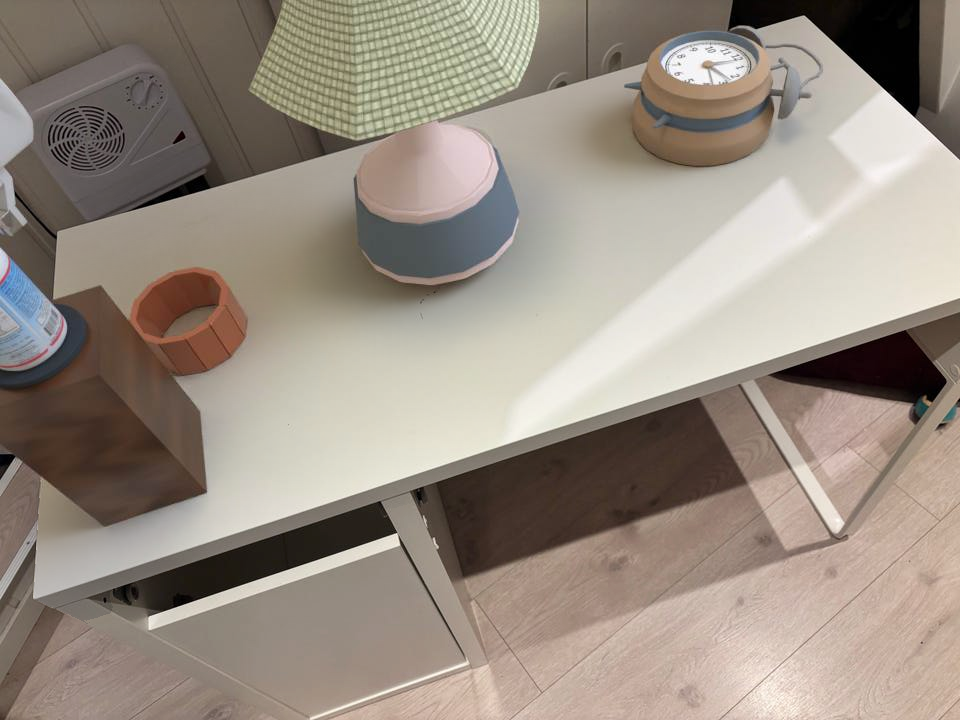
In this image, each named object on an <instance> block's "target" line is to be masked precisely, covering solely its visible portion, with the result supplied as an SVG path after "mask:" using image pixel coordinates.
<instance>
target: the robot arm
mask: <svg viewBox="0 0 960 720" xmlns="http://www.w3.org/2000/svg"><path fill="white" fill-rule="evenodd" d="M34 131H35V130H34V121H33V119H32V117H31V115H30V114H29V112H28V111H27V109H26V108H25V107H24V105H23V104H22V102H21V101H20V100H19V98H18V97H17V96H16V95H15V94H14V92H13V91H12V90H11V89H10V88H9V86H8V85H7V84H6V82H4V81H3V80H2V78H0V234H2V235H8V236H9V237H14V236H15V235H16V234H17V233H18V232H19V231H20V230H21V229H22V228H23V227H25V226H26V224H27V223H28V221H27V219H26V218H25V217H24V215H23V214H22V212H21V211H20V210H19V209H18V208H17V206H16V205H17V203H16V196H15V188H14V180H13V177H12V175H11V174H10V173H9V171H8V170H7V169H6V168H5V166H6V165H8V164H9V163H10V162H11V161H12V160H13V159H15V157H16V156H17V155H19V154H20V153H21V152H23V150H25V149H26V148H27V147H28V146H29V145H30V144H32V142H33V141H34V136H35V132H34Z"/></svg>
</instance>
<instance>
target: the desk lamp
mask: <svg viewBox="0 0 960 720" xmlns="http://www.w3.org/2000/svg"><path fill="white" fill-rule="evenodd" d="M539 23H540V0H282V4H281V9H280V13H279V15H278V18H277V21H276V24H275V27H274V29H273V32H272V35H271V37H270V39H269V40H268V41H269V42H268V44H267V46H266V49H265V51H264V53H263V55H262V58H261V60H260V62H259V65H258V66H257V67H258V68H257V70H256V72H255V75H254V77H253V78H252V81H251V82H250V83H251V84H250V86H249V87H248V91H249V92H250V93H252V94H253V95H255V96H256V97H258V98H259V99H260V100H261V101H263V102H265V103H266V104H268V106H271V107H272V108H274V109H275V110H278V111H279V112H281V113H283V114H284V115H287V116H289V117H290V118H293V119H295V120H296V121H299V122H302V123H304V124H306V125H309V126H311V127H314V128H316V129H318V130H319V131H320V130H321V131H324V132H327V133H330V134H333V135H336V136H340V137H342V138H345V139H350V140H352V141H355V142H360V141H365V140H369V139H372V138H378V137H382V136H387V135H389V136H387V137H384V138H383V139H381V140H380V141H379V142H378V143H377V144H375V145H374V146H373V147H372V148H371V149H369V151H368V152H366V153H365V154H364V156H363V158H362V160H361V162H360V163H359V166H358V167H357V170H356V172H355V175H354V177H353V191H354V204H355V217H356V231H357V243H358V244H357V245H358V246H359V247H360V249H361V252H362V254H363V256H364V257H366V259H367V260H368V262H369V263H370V264H371V266H372V267H373V268H374V270H375V271H377V272H379V273H382V274H383V275H385V276H387V277H389V278H391V279H393V280H395V281H398V282H400V283H406V284H414V285H415V284H416V285H425V286H435V285H436V286H437V285H439V284H445V283H450V282H454V281H461V280H464V279H465V280H466V279H467V278H469V277H471V276H473V275H476V273H478V272H480V271H482V270H484V269H486V268H488V267H489V266H491V265H494V264H495V263H496V261H497V260H498V259H499V258H500V257H501V256H502V255H503V254H504V253H505V252H506V250H508V248H510V246H511V245H512V244H513V242H514V238H515V235H516V232H517V230H518V229H517V228H518V225H519V222H520V219H519V215H520V210H519V205H518V203H517V200H516V196H515V192H514V189H513V187H512V184H511V182H510V179H509V177H508V175H507V172H506V169H505V167H504V164H503V161H502V159H501V156H500V153H499V151H498V149H497V148H496V147H495V146H493V144H491V143H490V142H489V141H488V139H486V138H485V137H484V136H483V135H481V134H480V133H479V132H478V131H476V130H473V129H471V128H468V127H464V126H462V125H459V124H456V123H453V124H452V123H451V124H450V123H439V120H442V119H445V118H448V117H450V116H453V115H457V114H460V113H463V112H465V111H468V110H471V109H475V108H477V107H480V106H482V105H484V104H486V103H489V102H491V101H492V100H495V99H497V98H500V97H502V96H504V95H506V94H509V93H511V92H514V91H515V90H516V89H517V88H518V87H519V86H520V83H521V81H522V79H523V76H524V74H525V73H526V70H527V68H528V66H529V63H530V60H531V56H532V53H533V50H534V47H535V43H536V38H537V34H538V28H539ZM390 134H391V135H390Z"/></svg>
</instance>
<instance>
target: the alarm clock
mask: <svg viewBox="0 0 960 720" xmlns="http://www.w3.org/2000/svg"><path fill="white" fill-rule="evenodd" d="M780 48H792V49H793V48H794V49H797V50H800V51H802V52H803V53H805V54H807V56H809V57H810V58H812V59H813V61H814V62H815V63H816V64H817V66H818V67H819V71H818V72H817V73H816V74H814V75H812V76H810V77H808V78H807V79H805V80H804V81H803V82H802V83H801V76H800V73H799V71H798V69H797V68H796V67H793V66H792V65H791V64H790V63H789V62H788V61H787V60H786V59H785V58H783V57H779V58H778V64H774V65H772V64H771V58H770V55H769V54H768V53H767V51H766V49H780ZM646 63H647V65H646V67H645V69H644V72H643V74H642V76H641V81H635V82H630V83H624V84H623V88H626V89H630V90H637V91H638V92H637V95H636V96H635V99H634V102H633V104H632V105H633V106H632V131H633V133H634V136H635V138H636V140H637V141H638V143H639V144H640V145H641V146H642V147H643V148H644V149H645V150H646V151H648V152H649V153H651V154H653V155H655V156H656V157H657V158H660V159H662V160H665V161H667V162H668V161H669V162H671V163H674V164H679V165H685V166H692V167H702V166H703V167H707V166H708V167H709V166H717V165H723V164H729V163H732V162H735V161H738V160H740V159H743V158H745V157H748V156H749V155H750V154H752V153H754V152H755V151H757V150H758V149H759V148H760V147H761V146H762V145H763V144H764V142H766V140H767V139H768V137H769V134H770V131H771V128H772V123H773V119H774V114H775V103H774V99H773V98H774V97H781V98H780V103H779V109H778V114H777V119H778V120H785V119H787V118H788V117H790V115H792V113H793V112H794V110H795V108H796V106H797V103H798V101H800V100H801V99H810V98H812V97H813V93H812V92H811V91H802V90H803V88H804V87H805V86H806V85H808V83H810V82H811V81H813V80H817V79H818V78H819V77H820V76H821V75H822V74H823V72H824V64H823V63H822V61H821V60H820V59H819V57H818V56H817V55H816V54H815V53H813V52H812V51H811V50H810V49H808V48H806V47H805V46H803V45H801V44H797V43H787V42H785V43H778V44H766V41H765V39H764V37H763V35H762V34H761V33H760V32H759V31H758V30H757V29H755V28H754V27H752V26H750V25H737V26H735V27H732V28H730V29H729V30H728V31H723V30H722V31H721V30H699V31H694V32H693V31H692V32H689V33H684V34H680V35H679V36H675V37H673V38H670V39H668V40H666V41H665V42H663V43H662V44H660V45H658V46H657V47H656V48H655V49H654V50H653V51H652V52H651V53H650V56H649V57H648V60H647V62H646ZM783 68H784V69H785V70H786V75H785V79H784V84H783V87H782V89H776V88H775V89H774V88H773V84H774V79H773V74H772V71H774V70H778V69H783Z"/></svg>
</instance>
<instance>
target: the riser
mask: <svg viewBox="0 0 960 720" xmlns="http://www.w3.org/2000/svg"><path fill="white" fill-rule="evenodd" d="M49 301H50V302H51V303H52V304H62V305H67V306H70V307H72V308H74V309H75V310H77V311H78V312H79V313H80V314H81V316H82V317H83V318H84V320H85V322H86V325H87V337H86V340H85V343H84V345H83V347H82V349H81V351H80V352H79V354H78V355H77V356H76V358H75V359H74V360H73V361H72V362H71V363H70V364H69V365H68V366H67V367H66V368H65V369H63V370H62V371H61V372H59V373H58V374H56V375H55V376H53V377H51V378H50V379H48V380H46V381H44V382H42V383H39V384H36V385H34V386H30V387H26V388H18V389H10V388H4V387H0V446H1V447H3V448H4V449H6V450H7V451H8V452H9V453H11V454H12V455H13V456H14V457H15V458H17V459H18V460H19V461H21V462H22V463H23V464H24V465H26V466H27V467H28V468H29V469H31V471H33V472H35V473H36V474H37V475H38V476H40V477H41V478H42V479H44V481H46V482H47V483H49V484H50V485H51V486H52V487H54V488H55V489H56V490H57V491H59V492H60V493H61V494H62V495H63V496H65V497H66V498H68V499H69V500H70V501H71V502H72V503H74V504H75V505H76V506H78V507H79V508H80V509H82V510H83V511H84V512H85V513H86V514H88V515H89V516H90V517H91V518H93V519H94V520H95V521H96V522H98V523H99V524H100V525H101V526H102V527H107V526H110V525H114V524H116V523H119V522H122V521H125V520H128V519H131V518H135V517H137V516H140V515H143V514H147V513H149V512H153V511H155V510H159V509H161V508H165V507H166V506H167V507H168V506H171V505H173V504H176V503H179V502H182V501H185V500H189V499H192V498H194V497H197V496H200V495H202V494H206V493H208V486H207V477H206V476H207V475H206V464H205V451H204V441H203V429H202V419H201V418H202V417H201V411H200V409H199V408H198V406H196V404H195V403H194V401H193V400H192V399H191V398H190V396H189V395H188V394H187V393H186V391H185V390H184V388H182V386H181V385H180V384H179V383H178V382H177V380H176V379H175V378H174V376H173V375H172V374H171V371H168V370H167V369H166V367H165V366H164V365H163V364H162V362H161V361H160V360H159V358H158V357H157V356H156V355H155V353H154V352H153V351H152V350H151V348H150V347H149V346H148V344H147V343H146V342H145V341H144V339H143V338H142V337H141V336H140V334H139V333H138V332H137V330H136V329H135V328H134V327H133V325H132V324H131V323H130V322H129V319H128V318H127V317H126V315H125V314H124V313H123V312H122V310H121V309H120V308H119V306H118V305H117V304H116V302H115V301H114V300H113V299H112V298H111V296H110V295H109V294H108V293H107V291H106V290H105V289H104V287H103V286H102V285H101V284H100V285H96V286H93V287H90V288H86V289H83V290H80V291H76V292H74V293H70V294H67V295H64V296H61V297H58V298H54V299H51V300H49Z"/></svg>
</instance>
